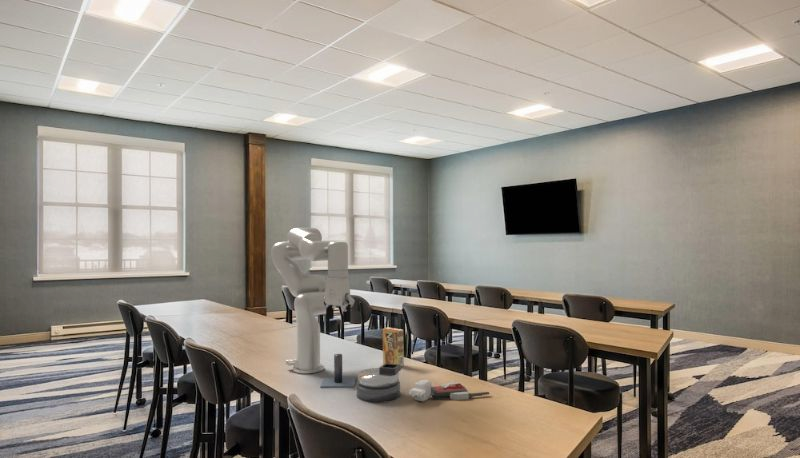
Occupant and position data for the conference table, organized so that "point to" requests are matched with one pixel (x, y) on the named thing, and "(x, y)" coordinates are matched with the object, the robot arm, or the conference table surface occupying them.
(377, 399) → the base
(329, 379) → the key mat
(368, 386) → the collar
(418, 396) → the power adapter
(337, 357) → the chuck key
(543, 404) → the conference table surface
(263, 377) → the conference table surface
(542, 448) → the conference table surface
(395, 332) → the candy box
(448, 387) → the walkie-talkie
